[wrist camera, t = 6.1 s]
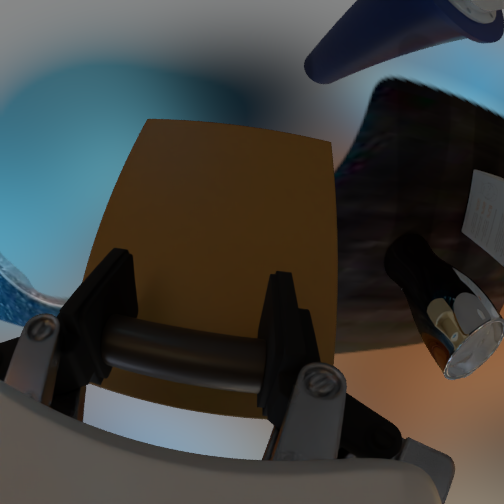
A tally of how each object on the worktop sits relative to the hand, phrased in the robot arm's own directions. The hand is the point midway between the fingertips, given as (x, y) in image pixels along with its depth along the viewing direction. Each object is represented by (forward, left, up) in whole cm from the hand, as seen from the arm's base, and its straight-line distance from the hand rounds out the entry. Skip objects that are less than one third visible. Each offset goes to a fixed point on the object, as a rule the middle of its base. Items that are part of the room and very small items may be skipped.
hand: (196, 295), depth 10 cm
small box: (-5, +29, -17) cm, 34 cm away
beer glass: (+4, +20, -16) cm, 26 cm away
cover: (0, 0, -5) cm, 4 cm away
